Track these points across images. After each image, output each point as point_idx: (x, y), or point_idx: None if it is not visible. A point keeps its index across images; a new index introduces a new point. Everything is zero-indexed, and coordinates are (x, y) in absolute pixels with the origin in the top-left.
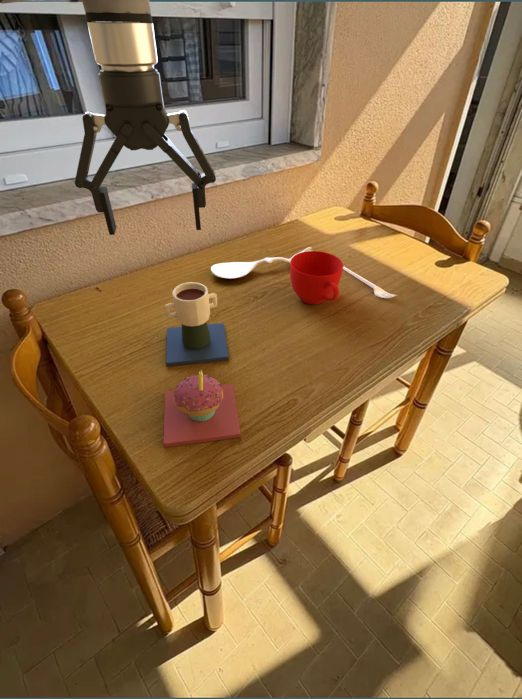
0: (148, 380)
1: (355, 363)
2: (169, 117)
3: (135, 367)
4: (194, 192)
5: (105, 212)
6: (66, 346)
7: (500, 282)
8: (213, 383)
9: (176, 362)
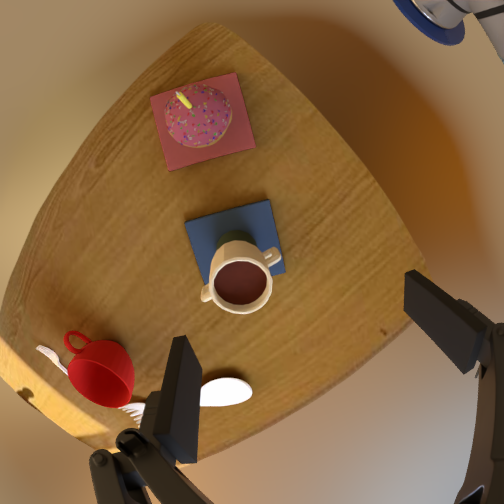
0: (285, 171)
1: (48, 238)
2: None
3: (309, 193)
4: (163, 423)
5: (447, 298)
6: (396, 226)
7: None
8: (175, 122)
9: (255, 203)
